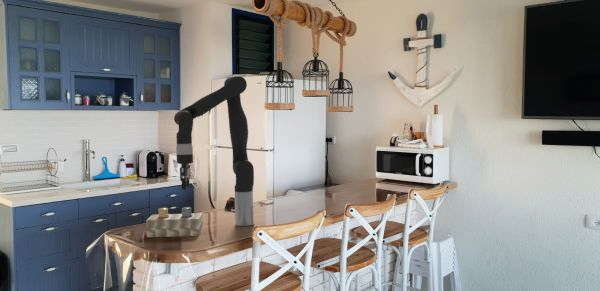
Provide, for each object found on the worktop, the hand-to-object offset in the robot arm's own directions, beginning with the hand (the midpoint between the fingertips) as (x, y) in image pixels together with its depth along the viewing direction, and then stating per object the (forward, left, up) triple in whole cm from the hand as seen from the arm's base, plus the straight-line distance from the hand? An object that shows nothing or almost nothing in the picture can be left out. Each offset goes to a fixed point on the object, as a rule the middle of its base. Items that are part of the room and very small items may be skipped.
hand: (185, 187), depth 227 cm
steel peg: (0, 0, -18) cm, 18 cm away
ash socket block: (+6, 0, -22) cm, 22 cm away
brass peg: (+11, 0, -18) cm, 21 cm away
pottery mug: (-18, -52, -22) cm, 59 cm away
